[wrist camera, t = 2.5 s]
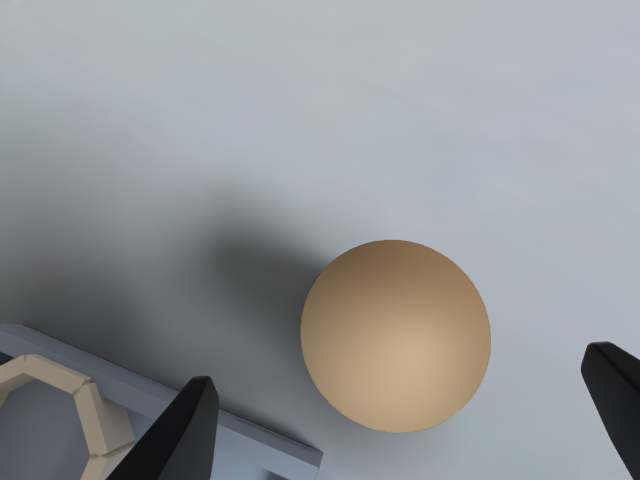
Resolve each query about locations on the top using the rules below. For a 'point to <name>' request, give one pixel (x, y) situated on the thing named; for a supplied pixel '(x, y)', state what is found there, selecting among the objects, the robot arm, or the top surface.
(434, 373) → the peg
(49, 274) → the top surface
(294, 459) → the tray
